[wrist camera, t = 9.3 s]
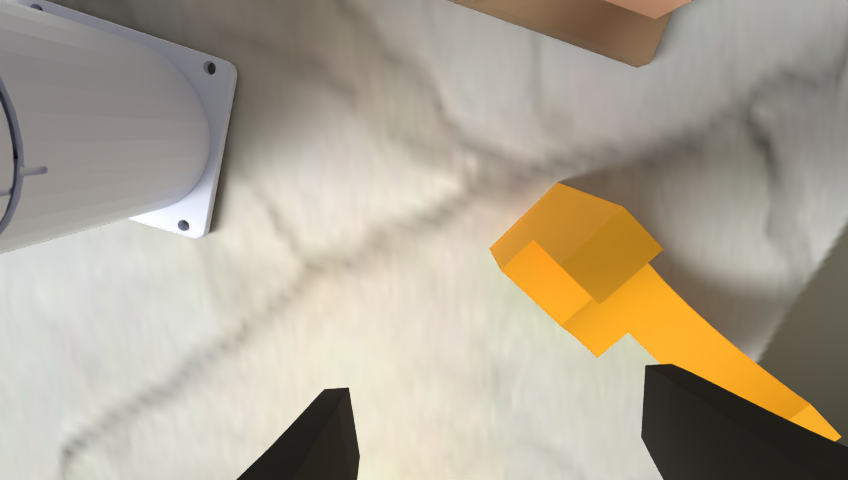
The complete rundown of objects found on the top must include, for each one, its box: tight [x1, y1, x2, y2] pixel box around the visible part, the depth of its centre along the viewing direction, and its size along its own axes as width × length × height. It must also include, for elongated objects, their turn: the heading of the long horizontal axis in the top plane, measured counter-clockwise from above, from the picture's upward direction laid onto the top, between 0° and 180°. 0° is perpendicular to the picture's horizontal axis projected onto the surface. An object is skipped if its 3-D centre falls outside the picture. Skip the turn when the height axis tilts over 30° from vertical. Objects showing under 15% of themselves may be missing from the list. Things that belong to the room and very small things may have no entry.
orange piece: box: [490, 183, 841, 441], centre depth 17 cm, size 12×4×6 cm, turn 47°
